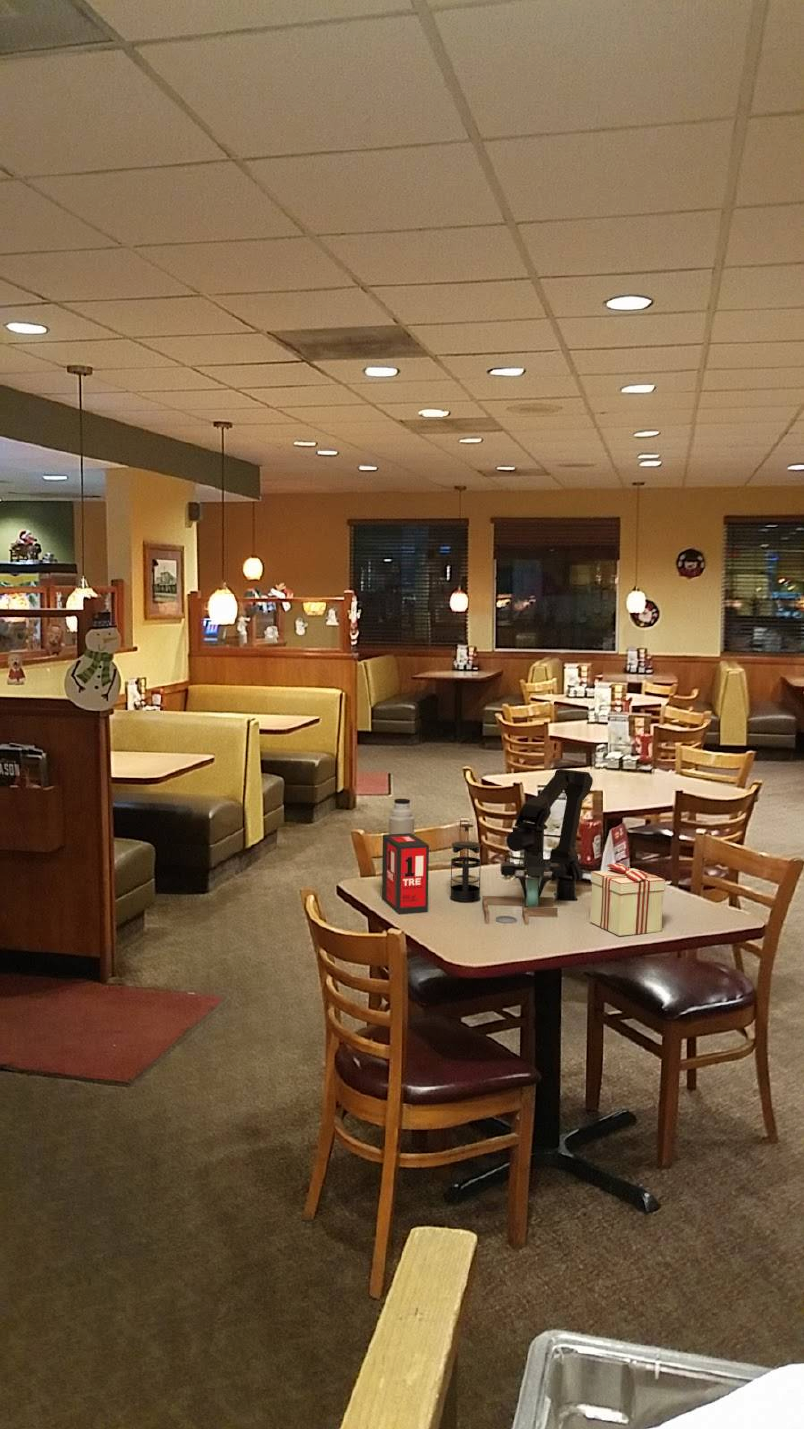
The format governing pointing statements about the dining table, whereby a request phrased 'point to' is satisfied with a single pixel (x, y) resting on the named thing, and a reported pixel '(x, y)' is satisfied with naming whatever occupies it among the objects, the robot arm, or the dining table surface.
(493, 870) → the dining table surface
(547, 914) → the channel
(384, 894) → the cleaning product box
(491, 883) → the dining table surface
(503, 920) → the pad
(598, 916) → the gift box
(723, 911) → the dining table surface
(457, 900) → the french press
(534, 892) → the peg
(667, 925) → the dining table surface
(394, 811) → the thermos bottle
